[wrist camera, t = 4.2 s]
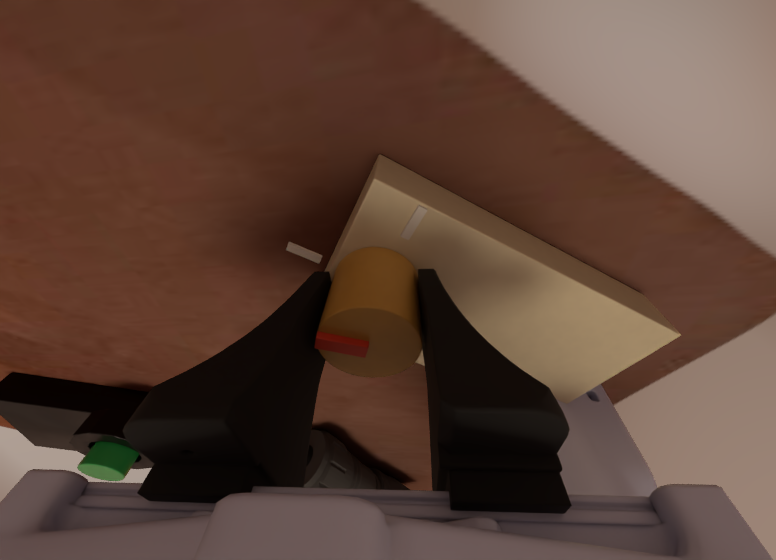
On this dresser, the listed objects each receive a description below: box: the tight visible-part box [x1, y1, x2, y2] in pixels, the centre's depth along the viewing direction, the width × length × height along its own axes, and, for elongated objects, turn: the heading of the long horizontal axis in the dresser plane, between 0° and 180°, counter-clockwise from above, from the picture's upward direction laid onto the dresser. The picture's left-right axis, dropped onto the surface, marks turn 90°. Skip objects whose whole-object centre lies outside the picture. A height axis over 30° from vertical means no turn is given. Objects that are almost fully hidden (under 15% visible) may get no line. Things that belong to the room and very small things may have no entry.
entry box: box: [0, 373, 154, 469], centre depth 25 cm, size 13×9×4 cm
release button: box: [77, 441, 140, 481], centre depth 22 cm, size 3×3×2 cm
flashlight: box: [304, 430, 410, 490], centre depth 29 cm, size 15×5×5 cm, turn 32°
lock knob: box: [314, 247, 422, 377], centre depth 12 cm, size 4×4×4 cm
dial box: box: [286, 154, 681, 404], centre depth 15 cm, size 18×8×3 cm, turn 63°
